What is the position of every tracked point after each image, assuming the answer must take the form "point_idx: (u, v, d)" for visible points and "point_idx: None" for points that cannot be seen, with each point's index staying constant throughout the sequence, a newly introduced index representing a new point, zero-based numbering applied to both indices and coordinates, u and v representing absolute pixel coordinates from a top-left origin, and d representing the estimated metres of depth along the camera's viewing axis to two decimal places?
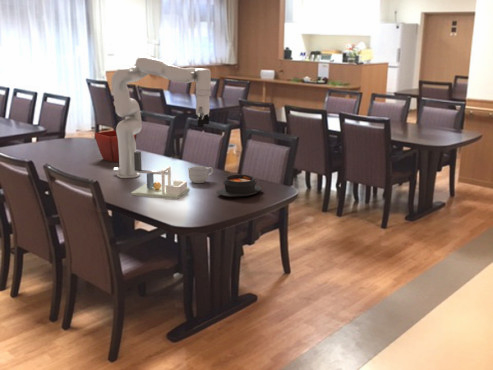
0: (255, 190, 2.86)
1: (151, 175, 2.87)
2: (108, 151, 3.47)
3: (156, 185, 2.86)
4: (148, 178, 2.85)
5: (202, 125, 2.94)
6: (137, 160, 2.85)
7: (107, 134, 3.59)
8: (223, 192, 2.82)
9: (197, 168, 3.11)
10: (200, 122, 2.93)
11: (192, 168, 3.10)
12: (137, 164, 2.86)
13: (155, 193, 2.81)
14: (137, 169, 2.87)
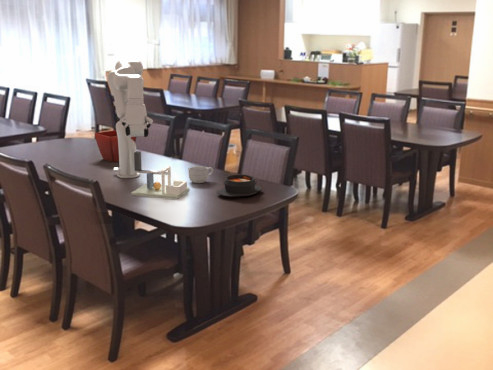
0: (255, 190, 2.86)
1: (151, 175, 2.87)
2: (108, 151, 3.47)
3: (156, 185, 2.86)
4: (148, 178, 2.85)
5: None
6: (137, 160, 2.85)
7: (107, 134, 3.59)
8: (223, 192, 2.82)
9: (197, 168, 3.11)
10: (147, 131, 2.82)
11: (192, 168, 3.10)
12: (137, 164, 2.86)
13: (155, 193, 2.81)
14: (137, 169, 2.87)
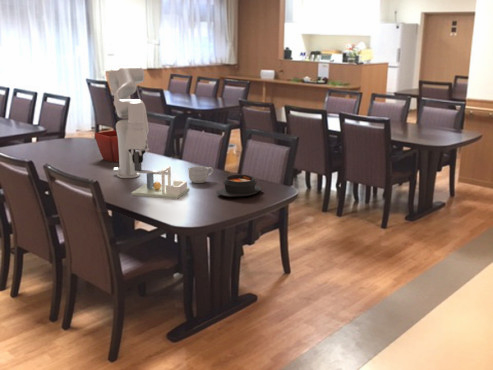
0: (255, 190, 2.86)
1: (151, 175, 2.87)
2: (108, 151, 3.47)
3: (156, 185, 2.86)
4: (148, 178, 2.85)
5: None
6: (137, 160, 2.85)
7: (107, 134, 3.59)
8: (223, 192, 2.82)
9: (197, 168, 3.11)
10: (142, 158, 2.86)
11: (192, 168, 3.10)
12: (137, 164, 2.86)
13: (155, 193, 2.81)
14: (137, 169, 2.87)
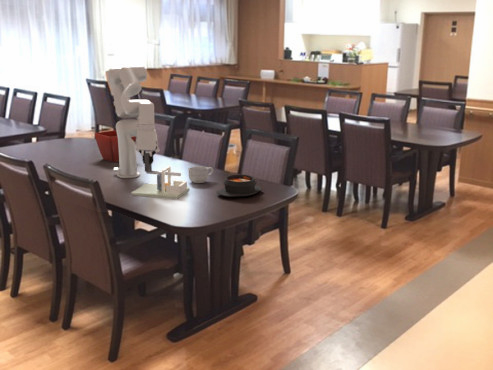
0: (255, 190, 2.86)
1: (161, 176, 2.86)
2: (108, 151, 3.47)
3: (165, 188, 2.85)
4: (158, 179, 2.84)
5: None
6: (147, 161, 2.84)
7: (107, 134, 3.59)
8: (223, 192, 2.82)
9: (197, 168, 3.11)
10: (152, 158, 2.85)
11: (192, 168, 3.10)
12: (147, 165, 2.85)
13: (155, 193, 2.81)
14: (147, 170, 2.85)
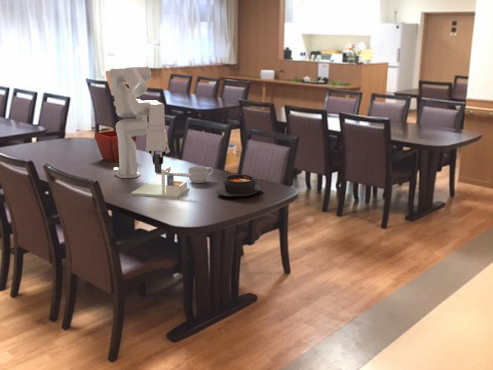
0: (255, 190, 2.86)
1: (171, 177, 2.85)
2: (108, 151, 3.47)
3: None
4: (168, 180, 2.83)
5: None
6: (157, 162, 2.83)
7: (107, 134, 3.59)
8: (223, 192, 2.82)
9: (197, 168, 3.11)
10: (162, 159, 2.83)
11: (192, 168, 3.10)
12: (157, 166, 2.83)
13: (155, 193, 2.81)
14: (157, 171, 2.84)
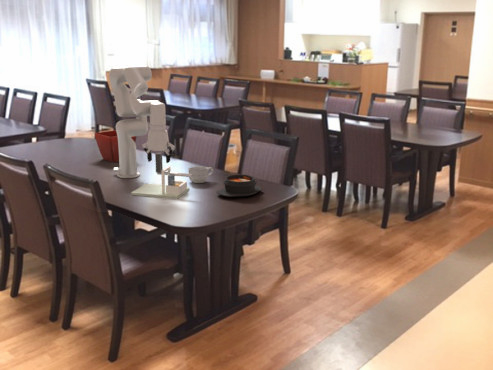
0: (255, 190, 2.86)
1: (172, 177, 2.84)
2: (108, 151, 3.47)
3: None
4: (169, 180, 2.82)
5: None
6: (158, 162, 2.83)
7: (107, 134, 3.59)
8: (223, 192, 2.82)
9: (197, 168, 3.11)
10: (169, 157, 2.82)
11: (192, 168, 3.10)
12: (158, 166, 2.83)
13: (155, 193, 2.81)
14: (158, 171, 2.84)
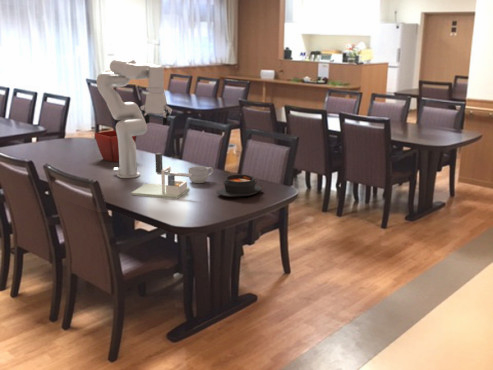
0: (255, 190, 2.86)
1: (172, 177, 2.84)
2: (108, 151, 3.47)
3: None
4: (169, 180, 2.82)
5: None
6: (158, 162, 2.83)
7: (107, 134, 3.59)
8: (223, 192, 2.82)
9: (197, 168, 3.11)
10: (166, 120, 2.90)
11: (192, 168, 3.10)
12: (158, 166, 2.83)
13: (155, 193, 2.81)
14: (158, 171, 2.84)
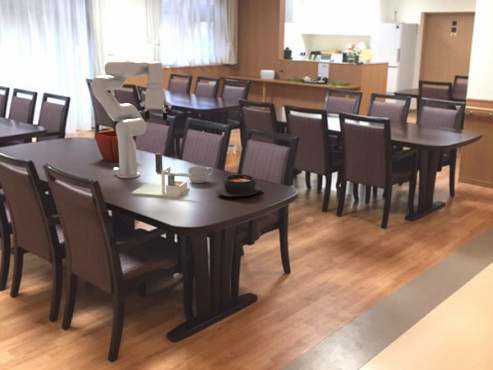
0: (255, 190, 2.86)
1: (172, 177, 2.84)
2: (108, 151, 3.47)
3: None
4: (169, 180, 2.82)
5: None
6: (158, 162, 2.83)
7: (107, 134, 3.59)
8: (223, 192, 2.82)
9: (197, 168, 3.11)
10: (166, 115, 2.93)
11: (192, 168, 3.10)
12: (158, 166, 2.83)
13: (155, 193, 2.81)
14: (158, 171, 2.84)
